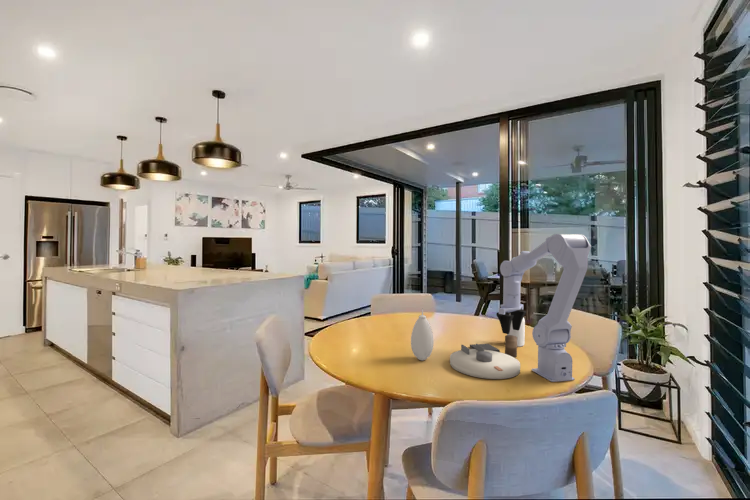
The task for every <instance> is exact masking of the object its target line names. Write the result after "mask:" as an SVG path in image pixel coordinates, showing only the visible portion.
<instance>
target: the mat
mask: <svg viewBox="0 0 750 500" xmlns="http://www.w3.org/2000/svg"><path fill="white" fill-rule="evenodd" d="M476 344H477V343H475V344H469V349H476ZM478 344H479V345H480V346H482V347H484V350H491V351H496V352H501V351H500V349H499V348H497V347H495V346H493V345H492V344H490V343H478Z"/></svg>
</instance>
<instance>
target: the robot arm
mask: <svg viewBox="0 0 750 500" xmlns="http://www.w3.org/2000/svg"><path fill="white" fill-rule="evenodd" d="M591 248H592V245H591V244H590V242H589V240H588V238H587V237H586V235H584V234H581V233H576V234H575V233H574V234H571V233H569V234H568V233H567V234H566V233H561V234H560V233H554V234H552V235H551V236H547V237H546V239H545V241H544V242H542V243H541V244H539V245H538V246H536V247H535V248H534V249H533V250H531V251H529V250H522V251H520V253H519V255H517V256H514V257H512V258H511V259H510V260H503V261H502V262H501V263H500V266H499V272H500V274H501V276H503V288H502V289H503V290H502V293H503V294H502V297H503V298H502V299H503V300H502V304H500V305H499V308H498V312H496V318H497V319H498V320H499V324H500V326H501V327H500V328H501V331H502V334H505V335H507V334H509V332H510V325H511V321H512V327H513V329H514V330H519V329H520V326H521V322H522V319H523V317H524V318H525V316H526V314H527V311H526V310H524V304H522V303H521V285H522V284H521V282H522V281H523V277H524V274H525V272H527V271H528V270H530V269H532V268H533V267H535V266H536V265H537V263H538V261H539V260H541V259H544V258H545V257H547V256H550V255H551V256H552V258H554V259H555V260H556V262H557V263H558V264H559V265H561V266H562V268H563V270H562V272H561V275H560V278H559V282H558V284H557V286H556V289H555V291H554V295H553V297H552V300H551V303H550V305H549V309H548V312H547V313H546V315H544V316H543V317H541V319H539V320H538V322H537V324H536V325H535V326H534V327H533V328H532V340H533V342H535V344H536V346H537V367H536V368H535V367H534V368H531V371H532V372H534V373H535V374H537V375H539V376H540V377H542V378H543V379H546V380H547V381H550V382H551V383H554V382H566V381H567V382H568V381H574V380H575V377H573V357H572V355H571V354H570V353H569V352H567V350H566V349H565V348H567V344H569V342H570V340H571V337H572V335H571V334H572V333H571V331H572V327H573V325H572V324H571V323H570V321H568V320H569V317H570V314H571V312H572V309H573V307H574V304H575V302H576V299H577V297H578V294H579V292H580V290H581V287H582V284H583V282H584V279H585V276H586V274H587V271H588V267H589V266H588V260H589V259H588V256H589V254H590V251H591ZM509 314H511V315H509Z"/></svg>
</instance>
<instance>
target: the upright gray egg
mask: <svg viewBox="0 0 750 500" xmlns="http://www.w3.org/2000/svg"><path fill="white" fill-rule="evenodd" d="M434 341H435V339H434V333H433V329H432V327H431V324H430V322H429V320H428V319H427V316H426V315H424V309H423V308H422V309H421V315H419V316H418V318H417V319H416V321H415V323H414V325H413V328H412V331H411V335H410V347H411V351H412V354H413V355H414V356H415V357H416V359H417V360H419V361H425V360H427V359H428V358H430V356H431V355H432V352H433V349H434Z"/></svg>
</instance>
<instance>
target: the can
mask: <svg viewBox="0 0 750 500" xmlns="http://www.w3.org/2000/svg"><path fill="white" fill-rule="evenodd" d="M508 314H509V315H511V314H510V313H508ZM525 326H526V321H525V316H524V317H523V319H522V322H521V326H520V329H519V330H514V329H513V327H512V321H511V325H510V332H509V334H506V335H513V336H516V337H517V348H518V347H519V348H521V347H523V346H525V341H526V340H525V339H526V338H525V337H526V336H525V334H526V332H525V330H526V327H525Z"/></svg>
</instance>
